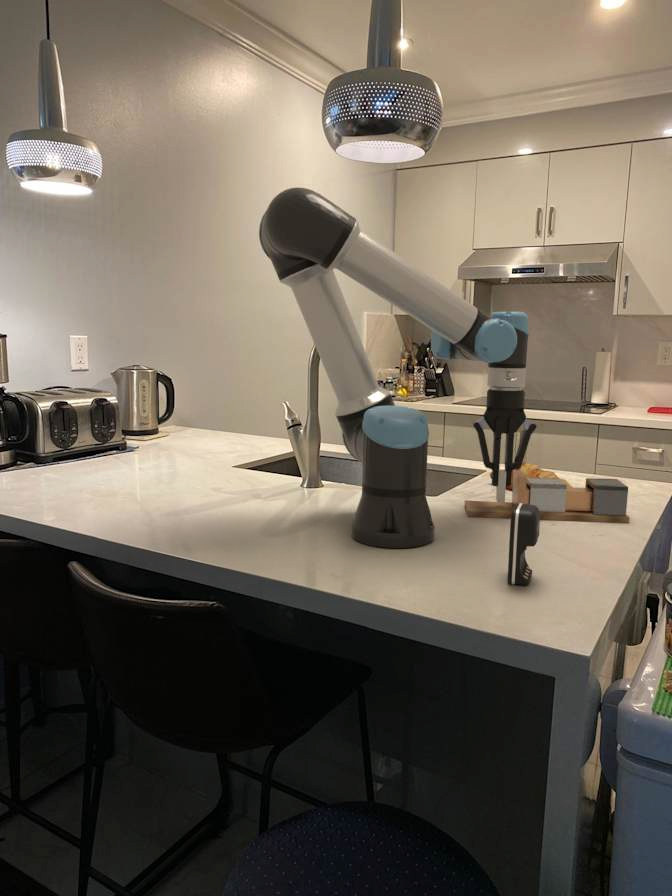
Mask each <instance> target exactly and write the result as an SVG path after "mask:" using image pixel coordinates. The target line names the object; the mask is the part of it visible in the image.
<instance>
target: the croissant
mask: <svg viewBox="0 0 672 896" xmlns="http://www.w3.org/2000/svg"><path fill="white" fill-rule="evenodd" d="M515 470H521V471H522V472H523V474H524V475H525V476H526V478H553V479H561V480H562V481H563V482H564V483H565V484H566V485H567V487H573V486H572V485H571V484H570V483H569V482H568V481H567V480H565V479H564V478H560V477H559V476H558V475H557V474H556V472H554V471H549V470H544V469H541V467H540V466H538V465H536V464H532V463H531V462H530V463H529V462H524V461H523V462H522V465H521V468H520V469H515ZM513 473H514V470H513V471H512V474H511V485H510V486H506V489H508V490H510V489H511V491H513ZM489 477H490V479H491V480H492V471H491V472H490V475H489Z"/></svg>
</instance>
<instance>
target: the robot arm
mask: <svg viewBox="0 0 672 896" xmlns="http://www.w3.org/2000/svg"><path fill="white" fill-rule="evenodd" d="M258 230H259V231H258V232H259V233H258V237H259V243H260V246H261V249H262V250H263V252H264V254H265V255H266V257H267V258H269V260H270V262H271V263H272V266H273V268H274V270H275V273H276V275H277V278H278V280H279V283H280V284H283V285H286V286H287V287H288V288H289V287H290V289H291V290H292V293H293V295H294V298H295V299H296V303H297V305H298V308H299V310H300V313H301V315H302V317H303V320H304V321H305V324H306V327H307V329H308V331H309V334H310V336H311V338H312V341H313V344H314V346H315V349H316V350H317V353H318V356H319V358H320V360H321V361H320V362H321V363H322V365H323V368H324V371H325V373H326V375H327V377H328V381H329V382H330V385H331V387H332V389H333V390H332V391H333V392H334V394H335V397H336V399H337V402H338V404H337V407H336V410H335V412H334V413H335V417H336V419H337V422H338V424H339V426H340V430H341V436H342V442H343V445H344V446H345V447H344V448H345V449H346V450H347V452H348V453H349V454H350V456H351V457H353V458H354V459H355V460H357V462H359V463H361V465H362V469H361V470H362V473H361V474H362V477H361V484H362V485H361V496H360V500H359V501H358V506H357V509H356V510H355V511H356V512H355V516H354V518H353V520H352V523H351V537H352V539H354V540H356V541H357V542H359V543H361V544H365V545H368V546H373V547H379V548H387V549H406V548H408V549H409V548H417V547H421V546H425V545H428V544H430V543H431V542H433V541H434V539H435V524H434V521H433V518H432V513H431V510H430V506H429V504H428V499H427V476H428V447H429V446H428V445H429V438H430V437H429V436H430V429H429V420H428V417H427V416H426V414H425V413H424V412H422V411H421V410H418V409H416V408H412V407H407V406H401V405H395V402H394V400H393V397H392V394H391V392H390V391H389V390H388V389H386V388H383V387H381V386H380V385H379V382H378V380H377V378H376V375H375V373H374V370H373V367H372V365H371V362H370V360H369V357H368V356H367V352H366V350H365V347H364V345H363V342H362V339H361V337H360V335H359V332H358V329H357V327H356V324H355V322H354V319H353V317H352V315H351V312H350V310H349V307H348V304H347V301H346V299H345V296H344V294H343V292H342V289H341V287H340V285H339V282H338V279H337V276H336V274H335V272H334V269H335V270H338V271H340V272H342V273H343V274H344V275H346V276H347V277H349V278H351V279H352V280H354V281H356V282H357V283H359V284H360V285H362V286H363V287H364V288H366V289H368V290H369V291H371V292H372V293H374V294H375V295H377V296H379V297H380V298H382V299H383V300H384V301H387V302H388V303H389V304H391V305H393V306H394V307H395V308H397V309H399V311H402V312H403V313H404V314H407V315H408V316H409V317H411V318H413V319H414V320H416V321H418V322H419V323H420V324H423V325H424V326H425V327H427V328H428V329H430V330H431V336H430V347H431V352H432V355H433V356H434V357H435V358H436V359H439V360H448V361H450V360H463V361H464V360H465V361H473V362H474V361H477V362H483V363H487V367H488V369H487V387H489V389H488V390H487V391H486V406H485V407H486V408H485V411H484V412H483V415H482V416H483V417H481V418H479V419H477V420H474V421H473V422H472V426H473V427H474V429H475V431H476V433H477V438H478V441H479V448H480V451H481V452H480V453H481V457H482V462H483V465H484V467H485V468H486V469H490V470H491V472H492V479H491V484H492V486H494V487H496V488H495V489H496V490H495V491H496V492H495V494H496V495H495V500H496V502H498V503H505V502H506V489H507V488H506V486H510V485H511V474H512V471H513V470H515V469H520V468H521V465H522V463H523V462H524V459H525V455H526V452H527V449H528V446H529V443H530V439H531V436H532V435H533V434H534V431H536V429H537V427H538V426H537V425H536V423H535V422H533V421H530V420H529V419H528V418H527V415H526V413H525V400H526V399H525V398H526V397H525V396H526V392H525V390H523V388H525V387H526V377H527V355H528V343H529V342H528V341H529V337H530V336H529V335H530V333H529V316H528V314H527V313H525V312H523V311H493V312H492V313H491V314H490V315H488V314H487V313H485V312H484V311H483V310H480V309H479V308H477V307H476V306H474V305H473V304H471V303H470V302H469V301H467V300H466V299H464V298H463V297H461V296H460V295H458V294H457V293H455V292H454V291H452V290H451V289H449V288H448V287H446V286H445V285H444V284H442V283H440V282H439V281H437V280H436V279H435V278H433V277H431V276H430V275H428V273H426V272H424V271H423V270H421V269H420V268H418V267H416V265H414V264H412V263H411V262H409V261H408V260H406V259H405V258H404V257H402V256H400V255H399V254H397V253H396V252H395V251H393V250H391V249H390V248H389V247H387V246H385V245H384V244H383V243H381V242H379V241H378V240H377V239H375V238H373V236H371V235H369V234H368V233H367V232H365V231H363V230H362V229H361V227H360V224H359V220H358V219H357V218H355V217H354V216H353V215H351V214H349V213H348V212H346V210H343V209H342V208H341V207H339V206H338V205H337V204H335V203H334V202H332V201H331V200H329V199H328V198H326V197H325V196H323V195H322V194H320V193H318V192H316V191H314V190H313V189H309V188H305V187H290V188H287V189H285V190H283V191H280V193H278V194H277V195H276V196H275V197H273V198H272V200H271V201H270V203H269V204H268V207H267V209H266V211H265V212H264V213H263V215H262V217H261V220H260V223H259V229H258ZM486 424H487V425H488V428H489V429H490V430H491V431H492V432H493V433H492V434H493V437H492V438H493V442H492V443H493V444H492V461H491V460H490V454H489V449H488V445H487V440H486V436H485V435H486V434H485V432H484V430H485V428H486ZM521 426H522V429H523V432H522V435H521V438H520V441H519V444H518V447H517V450H516V454H515V456H514V440H515V433H517V432H518V430H519V429H520V427H521ZM503 434H505V453H504V469H501V468H500V467H501V463H500V461H501V447H502V446H501V443H502V442H501V441H502V435H503ZM514 457H515V458H514ZM513 460H514V461H513Z"/></svg>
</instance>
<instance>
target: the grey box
mask: <svg viewBox="0 0 672 896" xmlns="http://www.w3.org/2000/svg"><path fill="white" fill-rule="evenodd" d="M584 488H594V494H593V507H592V514H593V515H607V516H626V515H627V507H628V496H629V487H628V486H627V485H626V484H624V483H623V482H621V481H620V480H619V479H618V478H594V477H591V478H589V477H586V478H585V487H584Z"/></svg>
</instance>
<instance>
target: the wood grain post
mask: <svg viewBox="0 0 672 896" xmlns="http://www.w3.org/2000/svg"><path fill="white" fill-rule="evenodd" d="M511 491H512V493H511V494H512V496H511V497H512V498H511V502H512V503H513V505H514V506H515V504H517V503H519V504H520V503H523V504H529V502H530V486H526V476H525V475H524V474H523V472H522V471H521V470H514V473H513V490H511ZM593 494H594V488H585V487H576V486H575V487H574V486H572V487H567V489H566V504H565V510H571V511H592V507H593Z"/></svg>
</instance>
